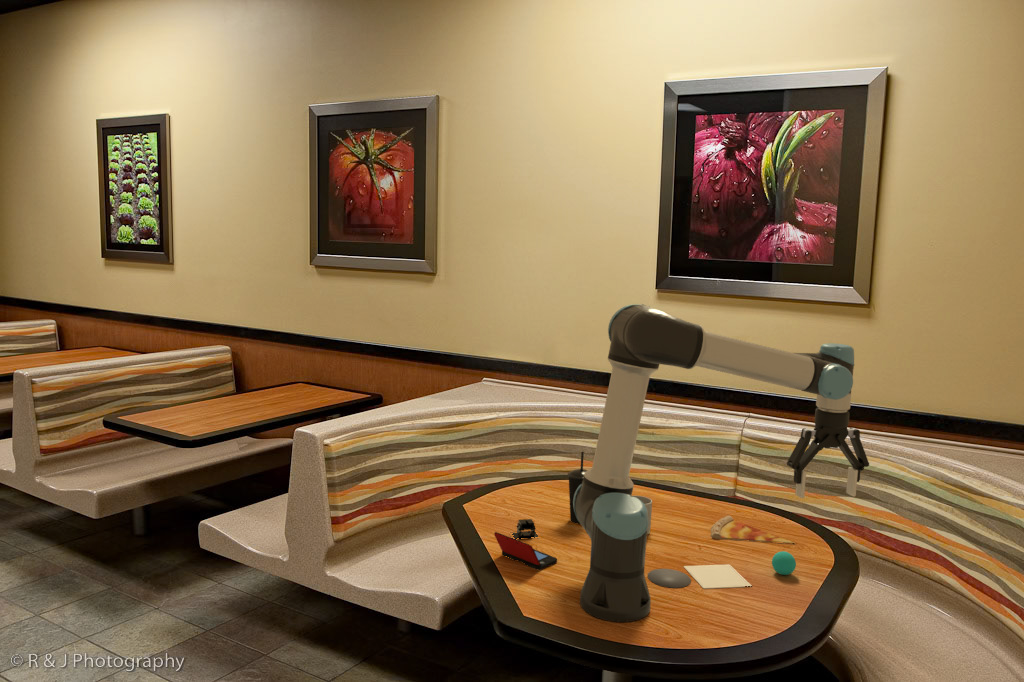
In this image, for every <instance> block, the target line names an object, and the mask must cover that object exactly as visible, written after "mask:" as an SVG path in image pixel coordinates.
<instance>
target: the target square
mask: <svg viewBox="0 0 1024 682" xmlns="http://www.w3.org/2000/svg"><path fill="white" fill-rule="evenodd" d="M683 568H684V569H685V570H686V571H687V572H688V574H689V575H690V576H691V577H692V578H693V579H694V580H695V581H696V583H698V585H700V587H701V588H702V589H704V590H709V589H710V590H711V589H729V588H731V589H732V588H752V587H753V585H752V584H751V583H750V582H749V581H748V580H746V579H745V577H743V576H742V575H741V574H740V573H739V572H738V571H737V570H736V569H735V568H734V567H733V566H732V565H731V564H729V563H726V564H710V565H709V564H708V565H707V564H705V565H702V564H701V565H699V564H698V565H684V566H683ZM745 586H747V587H745ZM748 586H750V587H748ZM751 586H752V587H751Z"/></svg>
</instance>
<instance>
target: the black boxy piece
mask: <svg viewBox="0 0 1024 682" xmlns="http://www.w3.org/2000/svg"><path fill="white" fill-rule="evenodd" d="M516 524H517V525H516V532H517V533H515V532H512V533H513V534H512V535H514V536H513V537H514V538H515V539H517V538H519V539H520V540H522V539H521V538H531V537H534V538H535V537H538V535H537V534H536V532H535V531H536V524H535V522H534V521H533V519H532V518H528V519H527V518H526V519H524V518H523V519H518V522H517V523H516Z"/></svg>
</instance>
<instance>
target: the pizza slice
mask: <svg viewBox="0 0 1024 682" xmlns="http://www.w3.org/2000/svg"><path fill="white" fill-rule="evenodd" d="M710 537H712V538H711V539H713V538H715V539H716V540H727V539H730V540H731V541H741V540H749V541H748V542H755V541H761V542H760V543H769V542H783V543H796V542H795V541H793V540H789V539H787V538H783V537H782V536H779V535H778V536H777V535H775V534H772V533H769V532H767V531H764V530H762V529H758V528H757V527H756V528H755V527H754V526H751V525H747V524H744V523H742V522H739V521H736V520H734V518H733V517H732V516H731V515H729V514H727V515H725V516H724V517H721V518H719V519H718V520H717V521H716V522H715V523H713V525H711V528H710ZM715 539H714V540H715ZM783 543H782V544H783Z"/></svg>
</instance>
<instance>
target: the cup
mask: <svg viewBox="0 0 1024 682" xmlns="http://www.w3.org/2000/svg"><path fill="white" fill-rule="evenodd" d="M631 497H636V498H638V499H639V500H641V501H642V502H643V503H644V504H645V506H646V508H647V513H648V528H647V534H648V535H649V534H650V532H651V525H652V512H653V511H652V510H653V500H652V499H651V498H649V497H647V496H643V495H632V496H631Z"/></svg>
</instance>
